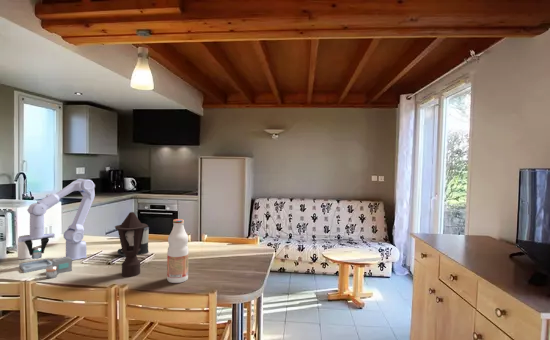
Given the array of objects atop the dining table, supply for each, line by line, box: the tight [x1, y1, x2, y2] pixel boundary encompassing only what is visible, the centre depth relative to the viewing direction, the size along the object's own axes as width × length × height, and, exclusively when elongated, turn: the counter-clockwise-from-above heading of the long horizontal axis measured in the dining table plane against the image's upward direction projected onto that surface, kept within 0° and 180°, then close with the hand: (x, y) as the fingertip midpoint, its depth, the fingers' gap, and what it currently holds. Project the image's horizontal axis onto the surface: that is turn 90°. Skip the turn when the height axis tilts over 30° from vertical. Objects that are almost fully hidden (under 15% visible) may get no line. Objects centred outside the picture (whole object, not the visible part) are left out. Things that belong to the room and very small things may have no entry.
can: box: [17, 234, 34, 261], centre depth 172 cm, size 6×6×12 cm
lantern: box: [114, 211, 149, 278], centre depth 152 cm, size 15×15×30 cm
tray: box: [18, 258, 52, 274], centre depth 158 cm, size 12×12×2 cm
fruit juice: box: [166, 218, 189, 284], centre depth 146 cm, size 9×9×28 cm
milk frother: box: [116, 226, 150, 258], centre depth 183 cm, size 14×16×15 cm
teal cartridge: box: [31, 246, 43, 260], centre depth 158 cm, size 4×4×5 cm
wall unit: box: [51, 256, 73, 275], centre depth 153 cm, size 7×5×6 cm
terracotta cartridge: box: [45, 265, 58, 280], centre depth 146 cm, size 4×4×5 cm
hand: (36, 253), depth 158 cm, fingers closed on teal cartridge, 4 cm apart
